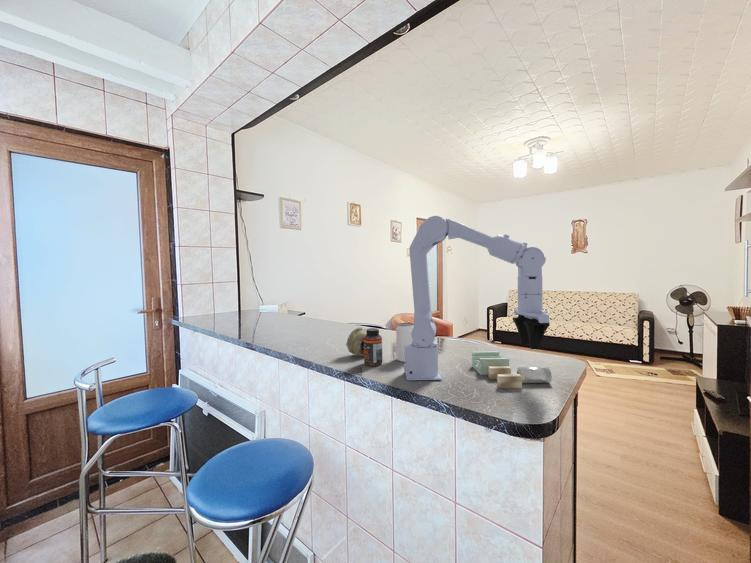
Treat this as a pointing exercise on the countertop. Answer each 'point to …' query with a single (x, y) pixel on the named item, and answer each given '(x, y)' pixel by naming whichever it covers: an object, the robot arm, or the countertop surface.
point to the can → (403, 339)
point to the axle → (535, 374)
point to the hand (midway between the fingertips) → (530, 346)
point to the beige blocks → (505, 377)
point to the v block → (487, 361)
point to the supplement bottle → (373, 347)
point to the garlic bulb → (356, 342)
